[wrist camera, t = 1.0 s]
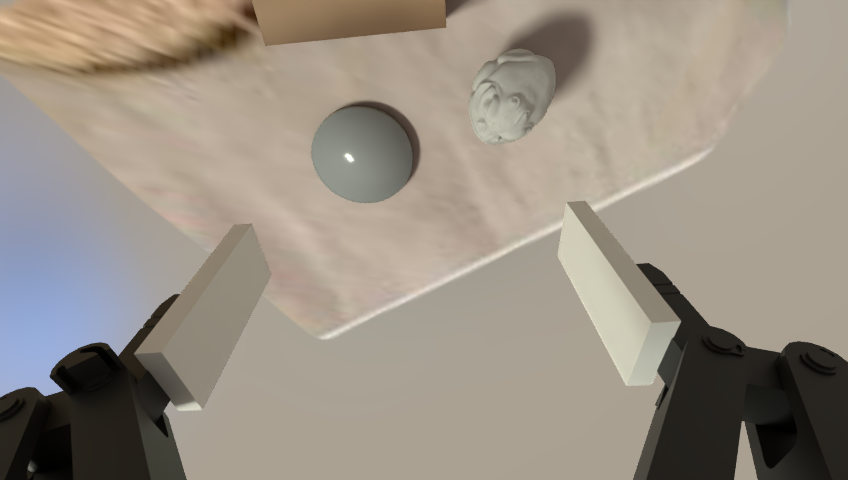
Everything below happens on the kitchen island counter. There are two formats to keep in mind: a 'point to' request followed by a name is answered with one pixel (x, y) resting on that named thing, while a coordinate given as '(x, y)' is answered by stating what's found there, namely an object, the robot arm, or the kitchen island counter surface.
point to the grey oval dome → (362, 154)
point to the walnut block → (344, 18)
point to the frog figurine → (511, 95)
